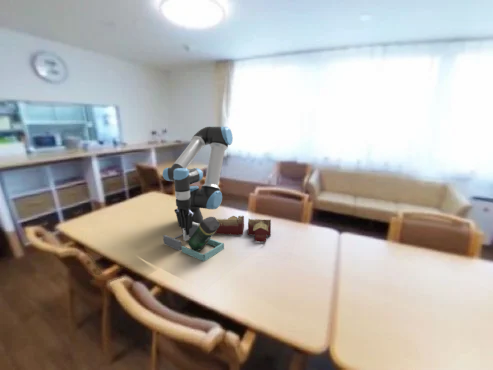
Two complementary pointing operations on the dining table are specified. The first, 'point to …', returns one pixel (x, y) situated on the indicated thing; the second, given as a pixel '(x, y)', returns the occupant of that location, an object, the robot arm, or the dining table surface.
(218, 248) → the teal u-shaped frame
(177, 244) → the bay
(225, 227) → the toy houses
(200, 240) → the coffee jar
